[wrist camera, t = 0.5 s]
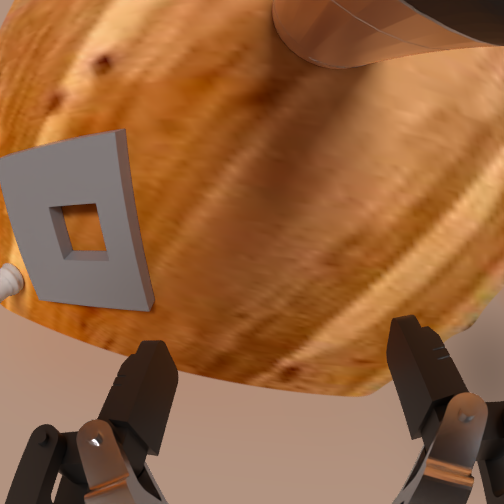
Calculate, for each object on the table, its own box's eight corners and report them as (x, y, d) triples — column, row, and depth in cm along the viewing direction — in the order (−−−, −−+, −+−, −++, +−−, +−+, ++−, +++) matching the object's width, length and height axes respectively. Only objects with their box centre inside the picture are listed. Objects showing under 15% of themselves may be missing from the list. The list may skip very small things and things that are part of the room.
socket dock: (7, 154, 23) (-5, 159, 21) (125, 128, 22) (114, 132, 21) (47, 290, 32) (39, 299, 30) (154, 299, 31) (149, 311, 30)
